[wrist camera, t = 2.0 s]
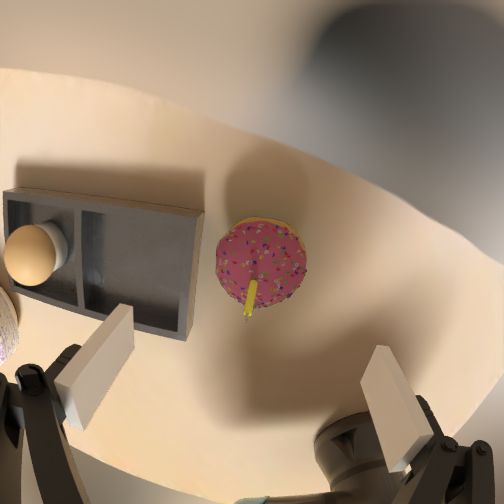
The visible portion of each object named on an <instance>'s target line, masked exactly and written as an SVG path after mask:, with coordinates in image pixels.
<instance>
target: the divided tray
mask: <svg viewBox="0 0 504 504" xmlns="http://www.w3.org/2000/svg"><path fill="white" fill-rule="evenodd" d="M204 213H205V211H199V210H193V209H186V208H180V207H173V206H166V205H159V204H153V203H146V202H138V201H131V200H124V199H116V198H109V197H101V196H93V195H85V194H77V193H69V192H60V191H51V190H42V189H33V188H23V187H18V188H14V189H10V190H6V191H3V219H4V236H5V245H6V242H7V240H8V238H9V237H10V235H11V234H12V233H13V232H14V231H15V230H16V229H18V228H20V227H22V226H25V225H36V224H38V223H41V222H44V221H49V222H52V223H54V224H56V225H57V226H58V227H59V228H60V229H61V231H62V232H63V234H64V236H65V239H66V242H67V248H68V254H67V259H66V261H65V263H64V264H63V265H62V266H61V267H60V268H58V269H57V270H55V271H53V272H52V274H51V275H50V276H49V278H48V279H47V280H45V281H44V282H42V283H41V284H38V285H34V286H27V285H23V284H20V283H18V282H17V281H15V280H14V279H13V278H12V277H11V276H10V274H9V273H8V274H9V281H10V287H11V290H12V291H14V292H17V293H20V294H22V295H25V296H28V297H30V298H33V299H36V300H39V301H42V302H44V303H47V304H50V305H53V306H56V307H59V308H62V309H65V310H68V311H71V312H75V313H78V314H81V315H84V316H88V317H91V318H94V319H98V320H101V321H105V320H106V318H107V317H108V316H109V315H110V314H111V313H112V312H113V311H114V309H115V308H116V307H117V306H118V305H119V304H120V303H121V304H125V305H129V306H133V327H134V330H138V331H142V332H146V333H150V334H155V335H159V336H163V337H168V338H172V339H177V340H181V341H186V340H187V337H188V335H189V332H190V330H191V328H192V324H193V312H194V301H195V291H196V281H197V271H198V262H199V253H200V245H201V236H202V228H203V220H204Z"/></svg>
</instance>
